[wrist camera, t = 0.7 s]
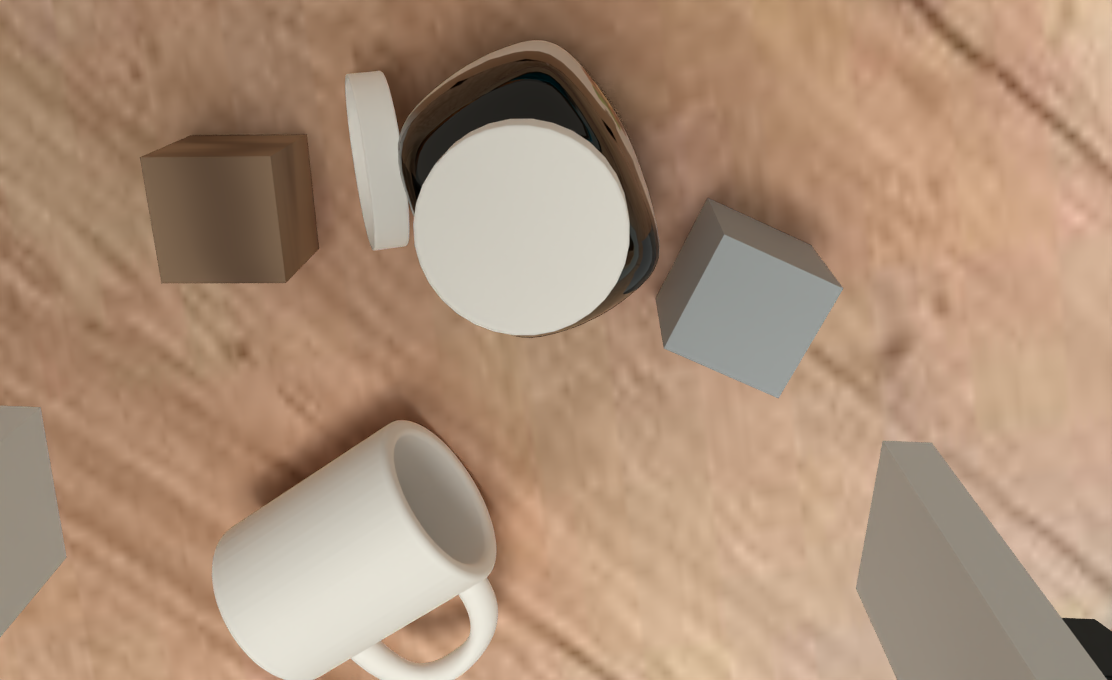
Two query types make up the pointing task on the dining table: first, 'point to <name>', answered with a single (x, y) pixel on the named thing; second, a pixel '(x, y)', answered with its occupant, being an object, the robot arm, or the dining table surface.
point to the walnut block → (231, 208)
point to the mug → (361, 561)
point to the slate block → (744, 298)
